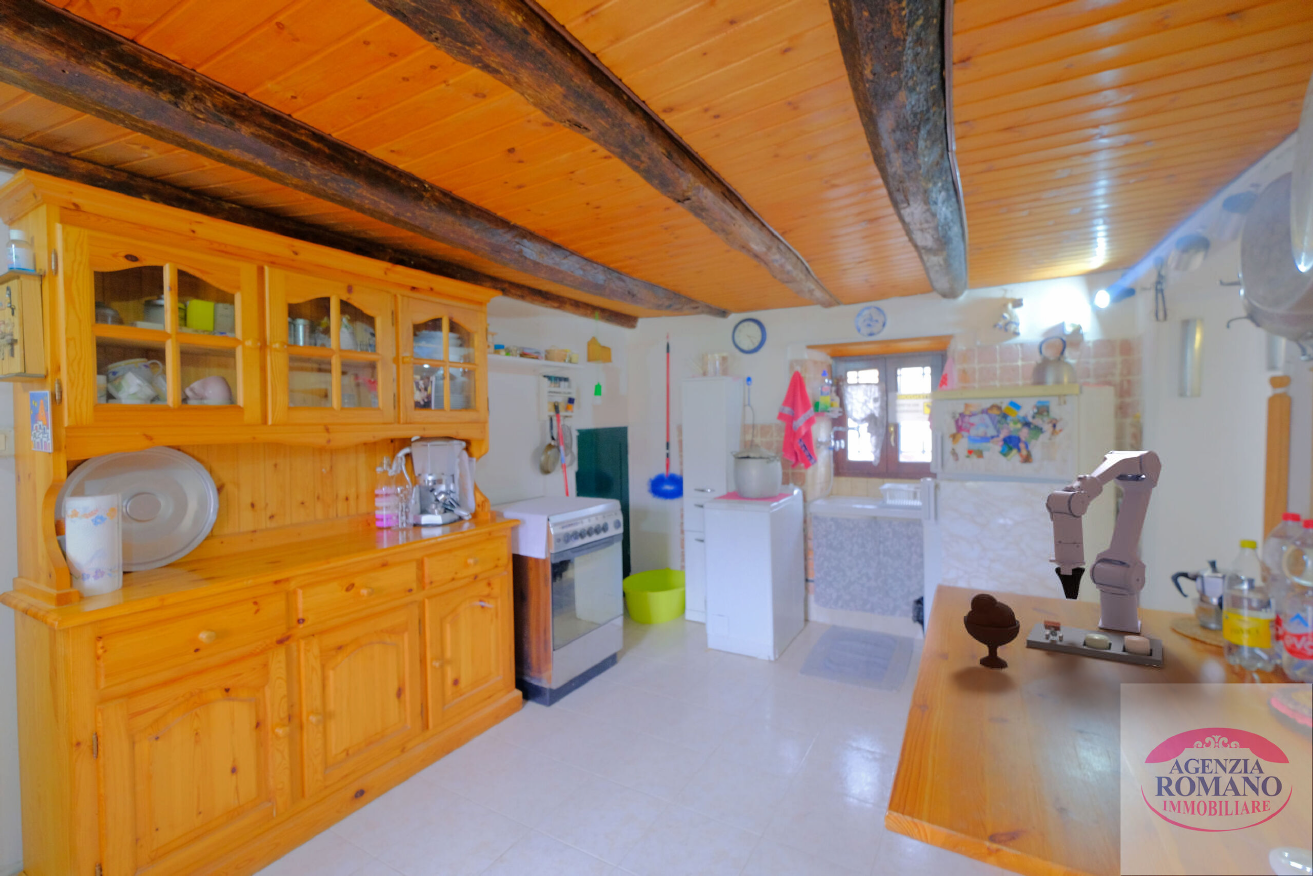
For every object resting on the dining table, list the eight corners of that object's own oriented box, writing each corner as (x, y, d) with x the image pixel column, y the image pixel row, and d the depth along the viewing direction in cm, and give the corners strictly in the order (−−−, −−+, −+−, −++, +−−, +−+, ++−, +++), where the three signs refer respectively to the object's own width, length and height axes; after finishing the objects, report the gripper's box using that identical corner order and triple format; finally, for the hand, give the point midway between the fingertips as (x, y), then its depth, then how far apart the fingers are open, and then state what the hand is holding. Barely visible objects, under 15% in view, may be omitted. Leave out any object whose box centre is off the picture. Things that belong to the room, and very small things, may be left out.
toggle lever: (1046, 630, 139) (1044, 620, 137) (1061, 632, 137) (1059, 622, 135) (1046, 635, 138) (1043, 625, 136) (1061, 637, 136) (1059, 627, 134)
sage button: (1086, 644, 135) (1086, 632, 135) (1109, 648, 133) (1109, 636, 133) (1084, 650, 132) (1084, 638, 132) (1108, 654, 130) (1107, 641, 130)
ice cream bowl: (966, 670, 127) (961, 600, 127) (966, 652, 137) (962, 587, 136) (1024, 677, 122) (1019, 604, 122) (1019, 657, 132) (1016, 590, 131)
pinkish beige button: (1125, 647, 131) (1124, 634, 131) (1150, 650, 128) (1149, 637, 128) (1124, 653, 128) (1123, 640, 128) (1149, 656, 125) (1149, 643, 125)
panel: (1036, 628, 149) (1035, 618, 149) (1162, 646, 133) (1161, 635, 133) (1026, 645, 138) (1026, 635, 138) (1162, 667, 122) (1161, 655, 122)
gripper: (1052, 535, 149) (1055, 589, 149) (1043, 545, 138) (1047, 603, 138) (1087, 537, 144) (1090, 592, 145) (1081, 548, 133) (1084, 608, 133)
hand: (1071, 598), depth 141 cm, fingers closed
